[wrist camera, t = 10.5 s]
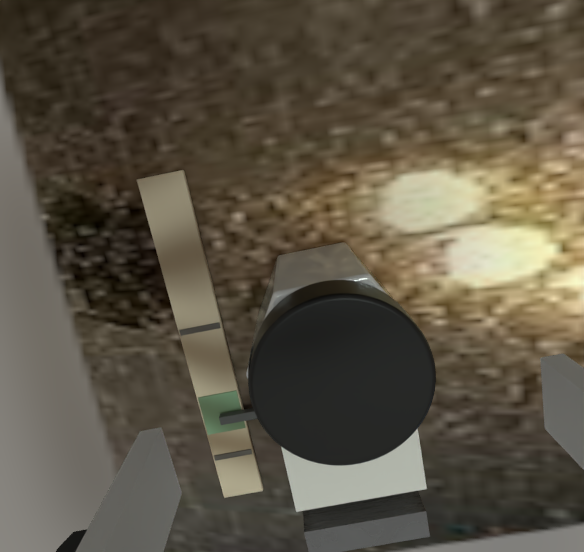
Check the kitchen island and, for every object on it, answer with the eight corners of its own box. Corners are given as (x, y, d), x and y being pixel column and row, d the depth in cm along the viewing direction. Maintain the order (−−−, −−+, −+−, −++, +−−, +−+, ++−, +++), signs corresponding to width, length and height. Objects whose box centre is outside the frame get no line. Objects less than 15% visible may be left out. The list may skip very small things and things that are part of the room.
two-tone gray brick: (301, 480, 34) (304, 532, 29) (406, 461, 34) (426, 511, 29) (306, 502, 34) (309, 556, 30) (409, 484, 34) (429, 536, 29)
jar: (233, 294, 31) (199, 372, 19) (324, 215, 29) (347, 245, 18) (319, 384, 32) (336, 506, 21) (408, 312, 31) (480, 399, 19)
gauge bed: (138, 179, 29) (136, 179, 28) (184, 169, 29) (182, 169, 28) (224, 493, 34) (224, 498, 34) (263, 487, 34) (262, 491, 34)
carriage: (217, 397, 32) (201, 448, 26) (391, 365, 32) (414, 409, 26) (234, 462, 33) (222, 524, 27) (402, 431, 33) (426, 488, 27)
